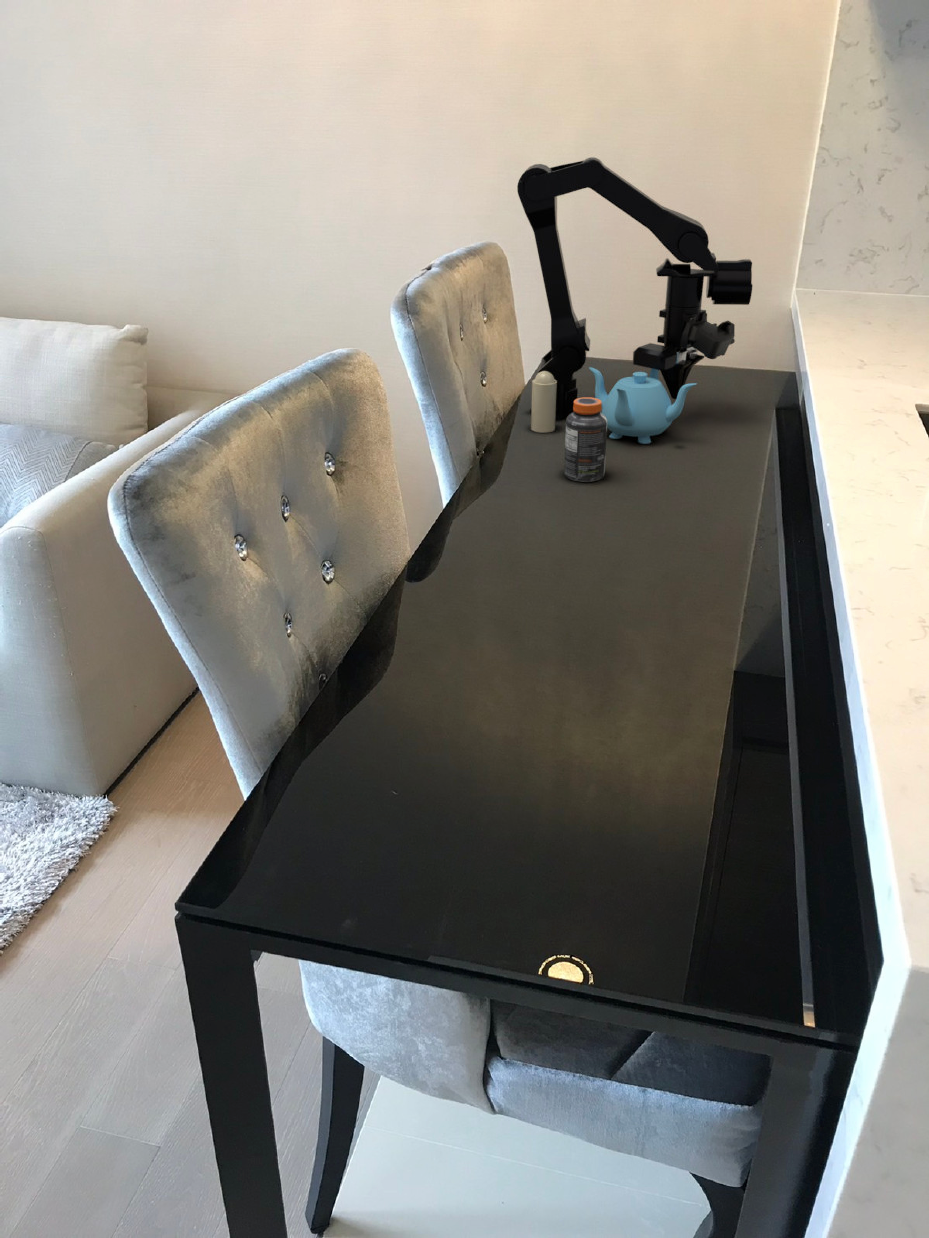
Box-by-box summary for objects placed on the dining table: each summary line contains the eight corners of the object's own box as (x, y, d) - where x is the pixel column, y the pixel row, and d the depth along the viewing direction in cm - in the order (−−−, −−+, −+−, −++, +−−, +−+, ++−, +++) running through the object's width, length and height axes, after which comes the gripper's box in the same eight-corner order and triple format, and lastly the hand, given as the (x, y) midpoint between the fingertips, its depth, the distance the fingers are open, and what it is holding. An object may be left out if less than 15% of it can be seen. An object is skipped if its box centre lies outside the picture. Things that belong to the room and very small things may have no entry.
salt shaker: (525, 429, 165) (527, 371, 161) (541, 423, 168) (543, 366, 163) (544, 434, 163) (546, 376, 158) (560, 428, 165) (562, 371, 161)
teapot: (584, 426, 167) (587, 365, 162) (658, 418, 170) (663, 359, 165) (613, 451, 156) (617, 387, 151) (691, 443, 159) (698, 380, 154)
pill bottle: (608, 470, 149) (613, 396, 143) (599, 485, 144) (604, 408, 138) (569, 466, 150) (572, 392, 145) (559, 480, 145) (562, 404, 140)
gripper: (694, 322, 151) (685, 422, 158) (757, 301, 162) (746, 395, 170) (633, 312, 157) (627, 408, 165) (698, 292, 169) (689, 382, 177)
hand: (675, 398), depth 169 cm, fingers closed
